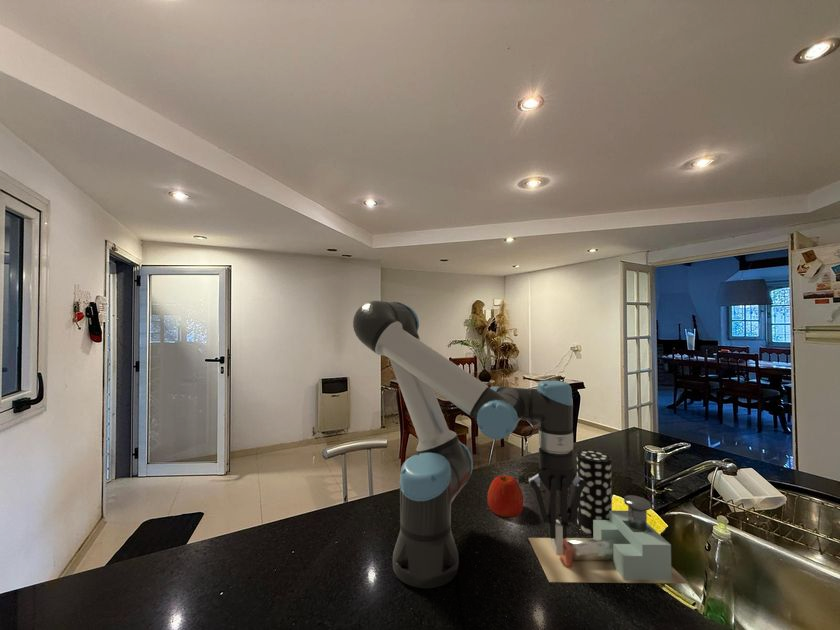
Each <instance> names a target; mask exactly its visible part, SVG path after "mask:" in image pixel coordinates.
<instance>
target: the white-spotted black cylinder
mask: <svg viewBox="0 0 840 630" xmlns="http://www.w3.org/2000/svg"><path fill="white" fill-rule="evenodd" d="M576 476H580V477H581V478H582V479H583V480H584V481H585V482H586V485H585V487H584V489H583V490H582V492H581V497H580V501H579V506H578V510H577V515H576V522H577V527H578V528H579V529H580V530H581V531H582V532H584V533H585V534H588V535H590V536H593V520H609V510H613V500H612V496H613V495H612V494H613V493H612V491H613V489H612V487H613V485H612V484H613V483H612V476H613V475H612V457H611V455H609V454H608V453H606V452H604V451H599V450H594V449H580V450H578V451H576Z"/></svg>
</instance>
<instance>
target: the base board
mask: <svg viewBox="0 0 840 630" xmlns="http://www.w3.org/2000/svg"><path fill="white" fill-rule="evenodd" d="M566 539H593V537H591V538H590V537H588V538H587V537H581V538H580V537H566ZM528 541H529V542H530V544H531V547H532V549H533V551H534V553H535V555H536V557H537V559H538V562H539V563H540V566H541V567H542V570H543V571H544V574H545V576H546V578H547V581H548V583H585V584H586V583H590V584H591V583H592V584H593V583H596V584H597V583H598V584H599V583H603V584H604V583H606V584H608V583H610V584H612V583H613V584H617V583H618V584H625V583H626V584H689V582H688V581H687V580H686V579H685V578H684V577H683V576H682V575H681V574H680V573H679V572H678V571H677V570H676V569H675V568H674V567H673V566H672V565H671V580H624V579H623V578H622V577H621V576H620V574H619V573H618V572H617V570H616V569H615V568H614V560H572V568H566V567H565V565H564V563H563V562H562V560H561V558H560V556H559V555H556V553H555V552H554V550H553V548H552V539H551V537H528Z"/></svg>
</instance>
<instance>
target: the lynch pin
mask: <svg viewBox="0 0 840 630" xmlns="http://www.w3.org/2000/svg"><path fill="white" fill-rule="evenodd" d="M613 544H620V542H619V541H618V540H617V539H563V555H559V556H560V558H561V560H562V562H563V563H564V565H565V567H566V568H572V560H614V555H613Z"/></svg>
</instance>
